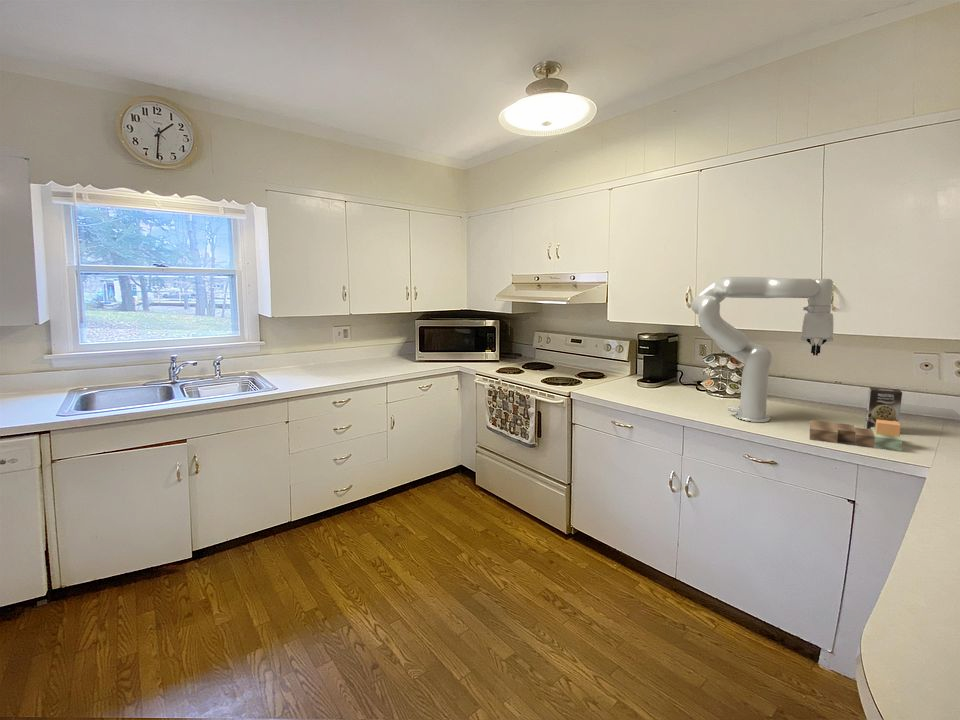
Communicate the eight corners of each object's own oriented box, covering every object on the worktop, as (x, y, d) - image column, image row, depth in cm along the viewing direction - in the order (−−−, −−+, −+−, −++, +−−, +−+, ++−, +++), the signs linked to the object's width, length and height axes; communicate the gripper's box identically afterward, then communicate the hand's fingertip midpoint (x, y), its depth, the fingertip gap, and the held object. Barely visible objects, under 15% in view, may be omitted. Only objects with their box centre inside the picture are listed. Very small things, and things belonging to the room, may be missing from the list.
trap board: (809, 439, 170) (810, 428, 169) (809, 430, 180) (810, 420, 180) (901, 451, 155) (902, 440, 155) (895, 440, 166) (896, 429, 165)
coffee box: (866, 431, 177) (870, 389, 175) (864, 426, 182) (868, 386, 180) (897, 434, 172) (902, 392, 170) (894, 430, 177) (899, 388, 175)
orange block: (876, 434, 162) (877, 422, 161) (875, 430, 166) (876, 419, 165) (899, 436, 158) (900, 425, 158) (897, 432, 162) (898, 421, 161)
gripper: (796, 310, 188) (792, 355, 191) (843, 310, 180) (838, 357, 182) (796, 309, 194) (793, 352, 197) (842, 309, 186) (837, 355, 189)
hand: (815, 355), depth 190 cm, fingers closed
